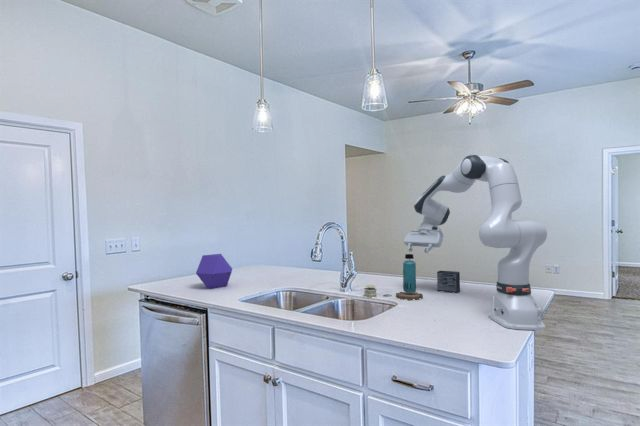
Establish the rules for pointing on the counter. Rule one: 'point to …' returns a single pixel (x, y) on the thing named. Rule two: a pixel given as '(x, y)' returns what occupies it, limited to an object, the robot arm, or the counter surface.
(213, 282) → the purple faceted block
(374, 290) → the stacked layers on plate
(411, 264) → the beverage bottle
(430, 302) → the counter surface
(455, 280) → the small box
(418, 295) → the gear plate
